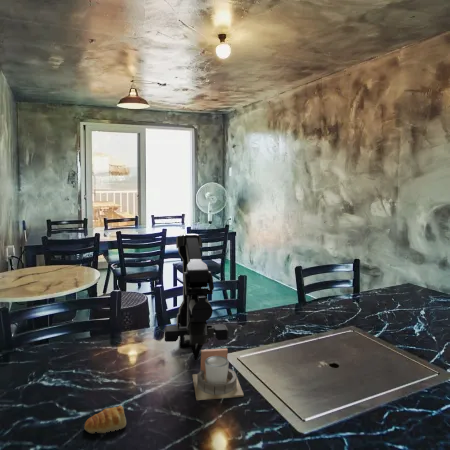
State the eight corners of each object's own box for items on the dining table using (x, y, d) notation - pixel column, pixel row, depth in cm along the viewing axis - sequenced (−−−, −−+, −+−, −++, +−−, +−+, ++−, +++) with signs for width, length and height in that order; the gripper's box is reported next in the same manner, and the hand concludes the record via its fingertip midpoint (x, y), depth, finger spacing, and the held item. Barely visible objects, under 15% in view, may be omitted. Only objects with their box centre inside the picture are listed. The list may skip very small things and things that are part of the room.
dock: (196, 400, 102) (196, 389, 101) (192, 375, 115) (192, 366, 114) (243, 396, 104) (243, 386, 104) (234, 372, 117) (234, 363, 116)
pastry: (86, 440, 86) (86, 424, 85) (82, 424, 92) (82, 409, 91) (128, 428, 90) (128, 413, 90) (121, 413, 96) (121, 399, 96)
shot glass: (232, 381, 111) (232, 358, 110) (222, 392, 105) (222, 368, 104) (211, 376, 114) (211, 353, 113) (200, 387, 107) (200, 363, 107)
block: (201, 373, 114) (201, 351, 114) (200, 371, 115) (200, 349, 115) (227, 371, 116) (227, 350, 115) (226, 370, 117) (226, 348, 116)
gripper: (165, 320, 103) (164, 374, 105) (232, 318, 106) (230, 371, 108) (165, 306, 114) (164, 356, 116) (226, 305, 117) (224, 354, 119)
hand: (195, 359), depth 114 cm, fingers closed
